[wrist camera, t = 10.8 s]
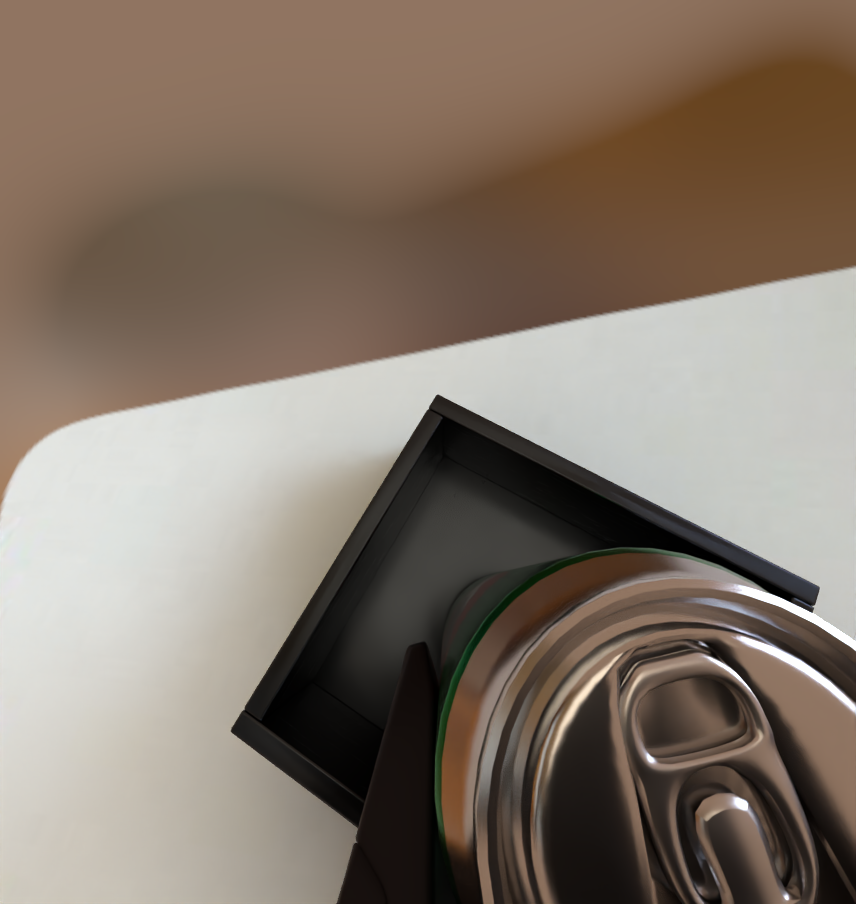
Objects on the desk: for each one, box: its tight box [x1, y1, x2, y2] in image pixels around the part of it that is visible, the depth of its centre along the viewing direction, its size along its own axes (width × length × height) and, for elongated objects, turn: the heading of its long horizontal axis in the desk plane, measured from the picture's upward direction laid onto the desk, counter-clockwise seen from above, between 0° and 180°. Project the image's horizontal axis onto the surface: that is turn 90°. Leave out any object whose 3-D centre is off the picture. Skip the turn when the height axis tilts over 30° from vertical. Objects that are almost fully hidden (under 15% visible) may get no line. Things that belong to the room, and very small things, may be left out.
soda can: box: [435, 548, 856, 904], centre depth 9 cm, size 5×5×12 cm
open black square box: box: [231, 395, 820, 828], centre depth 13 cm, size 11×12×5 cm
